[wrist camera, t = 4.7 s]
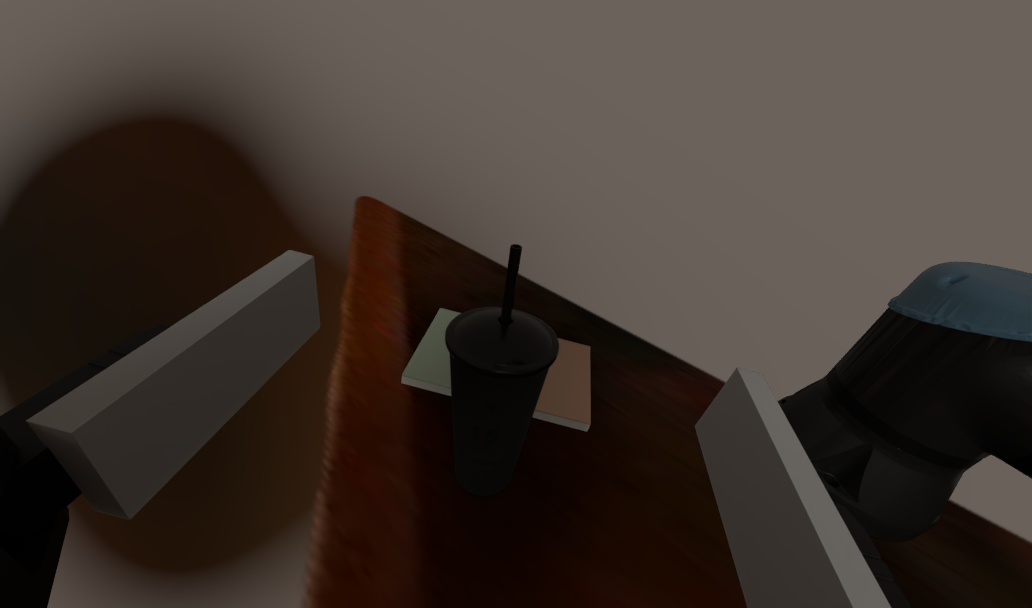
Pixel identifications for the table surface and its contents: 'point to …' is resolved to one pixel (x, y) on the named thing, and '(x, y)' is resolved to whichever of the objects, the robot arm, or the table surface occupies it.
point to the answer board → (558, 398)
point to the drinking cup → (495, 385)
